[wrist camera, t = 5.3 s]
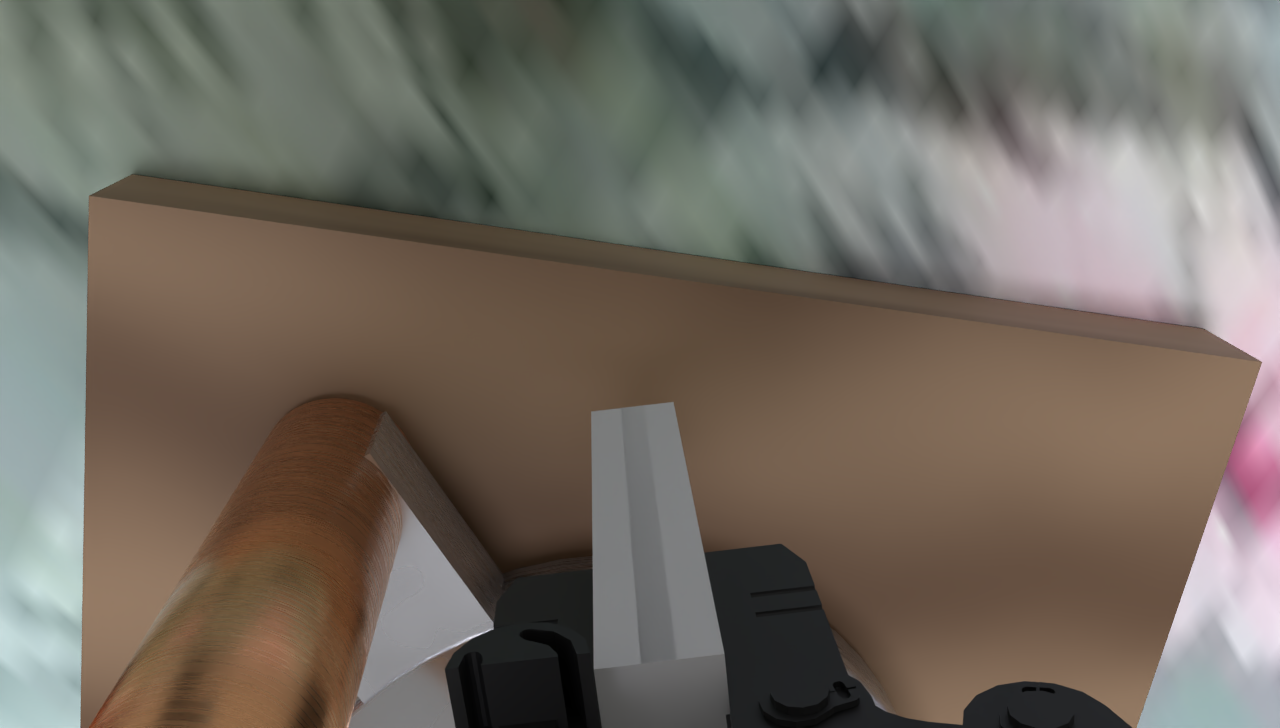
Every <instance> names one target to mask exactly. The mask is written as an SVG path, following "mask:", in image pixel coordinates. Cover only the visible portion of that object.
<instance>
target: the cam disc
mask: <svg viewBox="0 0 1280 728" xmlns="http://www.w3.org/2000/svg"><path fill="white" fill-rule="evenodd" d="M587 569H593V556H589V557H578V558H567V559H559V560H554V561H550V562H545V563H540V564H536V565H531V566H526V567H522V568H517V569H514V570H511V571H508V572H505V573H503V574H502V573H501V571H500V570H499V568H498V567H497V566H496V564H495V563H494V561H493V560H492V559H491V557H490V556H489V554H488V553H487V552H486V550H485V549H484V547H483V546H482V545H481V543H480V542H479V540H478V539H477V538H476V536H475V535H474V533H473V532H472V531H471V529H470V528H469V526H468V525H467V524H466V522H465V521H464V519H463V518H462V517H461V515H460V514H459V513H458V511H457V510H456V508H455V507H454V506H453V504H452V503H451V501H450V500H449V499H448V497H447V496H446V494H445V493H444V492H443V490H442V489H441V487H440V486H439V485H438V483H437V482H436V480H435V479H434V478H433V476H432V475H431V473H430V472H429V471H428V469H427V468H426V466H425V465H424V464H423V462H422V461H421V459H420V458H419V457H418V455H417V454H416V452H415V451H414V450H413V448H412V447H411V445H410V443H409V440H408V439H407V437H406V436H405V434H404V432H403V431H402V430H401V429H400V428H399V426H398V425H397V424H396V423H395V422H394V421H393V420H392V419H391V418H390V416H389V415H388V413H387V412H386V411H385V412H381V411H379V410H377V409H376V408H374V407H372V406H369V405H367V404H365V403H362V402H358V401H354V400H349V399H341V398H330V399H321V400H316V401H312V402H309V403H306V404H303V405H301V406H299V407H297V408H295V409H293V410H292V411H290V412H289V413H288V414H286V415H285V416H284V417H283V418H282V419H281V420H280V421H279V422H278V423H277V424H276V425H275V426H274V428H273V429H272V431H271V432H270V434H269V436H268V437H267V439H266V440H265V442H264V444H263V445H262V447H261V449H260V450H259V452H258V453H257V455H256V457H255V458H254V460H253V462H252V463H251V465H250V466H249V468H248V470H247V471H246V473H245V475H244V476H243V478H242V479H241V481H240V483H239V484H238V486H237V488H236V489H235V491H234V492H233V494H232V496H231V497H230V499H229V501H228V502H227V504H226V505H225V507H224V509H223V510H222V512H221V514H220V515H219V517H218V518H217V520H216V522H215V523H214V525H213V527H212V528H211V530H210V531H209V533H208V535H207V536H206V538H205V540H204V541H203V543H202V544H201V546H200V548H199V549H198V551H197V553H196V554H195V556H194V557H193V559H192V561H191V562H190V564H189V566H188V567H187V569H186V570H185V572H184V574H183V575H182V577H181V579H180V580H179V582H178V583H177V585H176V587H175V588H174V590H173V592H172V593H171V595H170V596H169V598H168V600H167V601H166V603H165V605H164V606H163V608H162V609H161V611H160V613H159V614H158V616H157V618H156V619H155V621H154V622H153V624H152V626H151V627H150V629H149V631H148V632H147V634H146V635H145V637H144V639H143V640H142V642H141V644H140V645H139V647H138V648H137V650H136V652H135V653H134V655H133V657H132V658H131V660H130V661H129V663H128V665H127V666H126V668H125V670H124V671H123V673H122V674H121V676H120V678H119V679H118V681H117V683H116V684H115V686H114V687H113V689H112V691H111V692H110V694H109V696H108V697H107V699H106V700H105V702H104V704H103V705H102V707H101V709H100V710H99V712H98V713H97V715H96V717H95V718H94V720H93V722H92V723H91V725H90V726H89V728H455V722H454V717H453V712H452V706H451V701H450V696H449V690H448V685H447V679H446V674H445V667H446V666H447V664H448V662H449V660H450V658H451V657H452V655H453V653H454V652H456V651H457V650H458V649H459V648H461V647H462V646H463V645H464V644H466V643H467V642H468V641H469V640H471V639H472V638H475V637H477V636H479V635H481V634H484V633H486V632H488V631H490V630H493V624H494V617H495V610H496V603H497V601H498V600H499V598H500V597H501V596H502V595H503V594H504V592H505V591H506V590H507V589H508V588H509V587H510V585H511V584H512V583H513V582H514V581H515V580H516V578H519V577H528V576H536V575H545V574H553V573H562V572H570V571H579V570H587ZM831 630H832V633H833V636H834V638H835V641H836V644H837V646H838V649H839V652H840V654H841V657H842V660H843V663H844V665H845V668H846V671H847V673H848V675H849V676H851V677H853V678H855V679H857V680H858V681H860V682H861V683H862V685H863V686H864V687H865V689H866V690H867V691H868V692H869V694H870V695H871V696H872V699H873V701H874V703H875V706H877V707H879V708H881V709H882V710H884V711H886V712H889V713H892V714H895V715H897V714H896V712H895V710H894V708H893V706H892V704H891V702H890V700H889V698H888V696H887V694H886V692H885V690H884V688H883V687H882V685H881V684H880V682H879V681H878V680H877V678H876V677H875V676H874V674H873V673H872V671H871V670H870V669H869V667H868V666H867V664H866V663H865V662H864V660H863V659H862V658H861V657H860V656H859V655H858V654H857V653H856V652H855V651H854V650H853V649H852V648H851V647H850V645H849V644H848V643H847V642H846V641H845V640H844V639H843V638H842V637H841V636H840V635H839V634H838V633H837V632H836V631H834V630H833V629H832V628H831Z"/></svg>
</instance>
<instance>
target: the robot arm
mask: <svg viewBox="0 0 1280 728" xmlns="http://www.w3.org/2000/svg"><path fill="white" fill-rule="evenodd" d="M591 446H592V546H593V569H587V570H579V571H570V572H562V573H553V574H545V575H536V576H528V577H519V578H516V580H515V581H514V582H513V583H512V584H511V585H510V587H509V588H508V589H507V590H506V591H505V592H504V594H503V595H502V596H501V597H500V598H499V600H498V601H497V603H496V610H495V617H494V624H493V630H490V631H488V632H486V633H484V634H481V635H479V636H477V637H475V638H472V639H471V640H469V641H468V642H467V643H466V644H464V645H463V646H462V647H461V648H459V649H458V650H457V651H456V652H454V653H453V655H452V657H451V658H450V660H449V662H448V664H447V666H446V667H445V674H446V679H447V685H448V690H449V696H450V701H451V706H452V712H453V717H454V722H455V728H1132V727H1131V726H1130V725H1129V724H1127V723H1126V722H1125V721H1124V720H1123V719H1121V718H1120V717H1119V716H1118V715H1117V714H1115V713H1114V712H1113V711H1112V710H1111V709H1109V708H1108V707H1107V706H1106V705H1104V704H1102V703H1101V702H1099V701H1097V700H1096V699H1094V698H1092V697H1091V696H1089V695H1087V694H1086V693H1084V692H1082V691H1079V690H1075V689H1072V688H1069V687H1065V686H1062V685H1058V684H1055V683H1045V682H1030V681H1022V682H1015V683H1009V684H1002V685H997V686H995V687H993V688H990V689H988V690H986V691H984V692H982V693H980V694H978V695H976V696H975V697H974V698H973V700H972V701H971V702H970V703H969V704H968V705H967V707H966V708H965V709H964V712H963V725H958V724H948V723H937V722H927V721H921V720H915V719H909V718H904V717H901V716H898V715H895V714H892V713H889V712H886V711H884V710H882V709H881V708H879V707H877V706H875V703H874V701H873V699H872V696H871V695H870V694H869V692H868V691H867V690H866V689H865V687H864V686H863V685H862V683H861V682H860V681H858V680H857V679H855V678H853V677H851V676H849V675H848V673H847V671H846V668H845V665H844V663H843V660H842V657H841V654H840V652H839V649H838V646H837V644H836V641H835V638H834V636H833V633H832V630H831V628H830V625H829V622H828V620H827V617H826V614H825V612H824V609H822V603H821V601H820V598H819V595H818V593H817V590H815V585H814V582H813V579H812V577H811V574H810V571H809V569H808V566H807V563H806V562H805V561H804V560H803V559H801V558H800V557H799V556H797V555H796V554H795V553H793V552H792V551H791V550H789V549H788V548H787V547H785V546H784V545H783V544H773V545H764V546H756V547H747V548H739V549H730V550H722V551H713V552H705V553H704V550H703V545H702V540H701V535H700V531H699V526H698V521H697V516H696V511H695V506H694V501H693V496H692V491H691V486H690V481H689V476H688V471H687V466H686V461H685V457H684V452H683V447H682V442H681V437H680V432H679V427H678V422H677V417H676V412H675V407H674V402H668V403H660V404H651V405H643V406H634V407H626V408H617V409H609V410H600V411H592V412H591Z"/></svg>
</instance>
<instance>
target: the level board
mask: <svg viewBox="0 0 1280 728" xmlns="http://www.w3.org/2000/svg"><path fill="white" fill-rule="evenodd" d="M1261 364H1262V362H1261V361H1259V360H1257V359H1256V358H1254V357H1252V356H1250V355H1249V354H1247V353H1245V352H1243V351H1242V350H1240V349H1238V348H1236V347H1235V346H1233V345H1231V344H1229V343H1228V342H1226V341H1224V340H1222V339H1221V338H1219V337H1217V336H1215V335H1214V334H1212V333H1210V332H1208V331H1207V330H1205V329H1201V328H1194V327H1187V326H1180V325H1173V324H1166V323H1159V322H1152V321H1146V320H1139V319H1132V318H1125V317H1118V316H1111V315H1104V314H1097V313H1090V312H1083V311H1076V310H1069V309H1062V308H1055V307H1049V306H1042V305H1035V304H1028V303H1021V302H1014V301H1007V300H1000V299H993V298H986V297H979V296H972V295H965V294H958V293H952V292H945V291H938V290H931V289H924V288H917V287H910V286H903V285H896V284H889V283H882V282H875V281H868V280H861V279H855V278H848V277H841V276H834V275H827V274H820V273H813V272H806V271H799V270H792V269H785V268H778V267H771V266H764V265H758V264H751V263H744V262H737V261H730V260H723V259H716V258H709V257H702V256H695V255H688V254H681V253H674V252H667V251H661V250H654V249H647V248H640V247H633V246H626V245H619V244H612V243H605V242H598V241H591V240H584V239H577V238H570V237H564V236H557V235H550V234H543V233H536V232H529V231H522V230H515V229H508V228H501V227H494V226H487V225H480V224H473V223H467V222H460V221H453V220H446V219H439V218H432V217H425V216H418V215H411V214H404V213H397V212H390V211H383V210H377V209H370V208H363V207H356V206H349V205H342V204H335V203H328V202H321V201H314V200H307V199H300V198H293V197H286V196H280V195H273V194H266V193H259V192H252V191H245V190H238V189H231V188H224V187H217V186H210V185H203V184H196V183H189V182H183V181H176V180H169V179H162V178H155V177H148V176H141V175H134V174H132V175H130V176H128V177H126V178H124V179H122V180H120V181H118V182H116V183H114V184H112V185H110V186H108V187H106V188H104V189H102V190H100V191H98V192H96V193H94V194H92V195H90V196H89V232H88V294H87V356H86V418H85V480H84V542H83V604H82V666H81V728H89V726H90V725H91V723H92V722H93V720H94V718H95V717H96V715H97V713H98V712H99V710H100V709H101V707H102V705H103V704H104V702H105V700H106V699H107V697H108V696H109V694H110V692H111V691H112V689H113V687H114V686H115V684H116V683H117V681H118V679H119V678H120V676H121V674H122V673H123V671H124V670H125V668H126V666H127V665H128V663H129V661H130V660H131V658H132V657H133V655H134V653H135V652H136V650H137V648H138V647H139V645H140V644H141V642H142V640H143V639H144V637H145V635H146V634H147V632H148V631H149V629H150V627H151V626H152V624H153V622H154V621H155V619H156V618H157V616H158V614H159V613H160V611H161V609H162V608H163V606H164V605H165V603H166V601H167V600H168V598H169V596H170V595H171V593H172V592H173V590H174V588H175V587H176V585H177V583H178V582H179V580H180V579H181V577H182V575H183V574H184V572H185V570H186V569H187V567H188V566H189V564H190V562H191V561H192V559H193V557H194V556H195V554H196V553H197V551H198V549H199V548H200V546H201V544H202V543H203V541H204V540H205V538H206V536H207V535H208V533H209V531H210V530H211V528H212V527H213V525H214V523H215V522H216V520H217V518H218V517H219V515H220V514H221V512H222V510H223V509H224V507H225V505H226V504H227V502H228V501H229V499H230V497H231V496H232V494H233V492H234V491H235V489H236V488H237V486H238V484H239V483H240V481H241V479H242V478H243V476H244V475H245V473H246V471H247V470H248V468H249V466H250V465H251V463H252V462H253V460H254V458H255V457H256V455H257V453H258V452H259V450H260V449H261V447H262V445H263V444H264V442H265V440H266V439H267V437H268V436H269V434H270V432H271V431H272V429H273V428H274V426H275V425H276V424H277V423H278V422H279V421H280V420H281V419H282V418H283V417H284V416H285V415H286V414H288V413H289V412H290V411H292V410H293V409H295V408H297V407H299V406H301V405H303V404H306V403H309V402H312V401H316V400H321V399H330V398H341V399H349V400H354V401H358V402H362V403H365V404H367V405H369V406H372V407H374V408H376V409H377V410H379V411H381V412H385V411H386V412H387V413H388V415H389V416H390V418H391V419H392V420H393V421H394V422H395V423H396V424H397V425H398V426H399V428H400V429H401V430H402V431H403V432H404V434H405V436H406V437H407V439H408V440H409V443H410V445H411V447H412V448H413V450H414V451H415V452H416V454H417V455H418V457H419V458H420V459H421V461H422V462H423V464H424V465H425V466H426V468H427V469H428V471H429V472H430V473H431V475H432V476H433V478H434V479H435V480H436V482H437V483H438V485H439V486H440V487H441V489H442V490H443V492H444V493H445V494H446V496H447V497H448V499H449V500H450V501H451V503H452V504H453V506H454V507H455V508H456V510H457V511H458V513H459V514H460V515H461V517H462V518H463V519H464V521H465V522H466V524H467V525H468V526H469V528H470V529H471V531H472V532H473V533H474V535H475V536H476V538H477V539H478V540H479V542H480V543H481V545H482V546H483V547H484V549H485V550H486V552H487V553H488V554H489V556H490V557H491V559H492V560H493V561H494V563H495V564H496V566H497V567H498V568H499V570H500V571H501V573H502V574H503V573H505V572H508V571H511V570H514V569H517V568H522V567H526V566H531V565H536V564H540V563H545V562H550V561H554V560H559V559H567V558H578V557H589V556H593V546H592V446H591V412H592V411H600V410H609V409H617V408H626V407H634V406H643V405H651V404H660V403H668V402H674V407H675V412H676V417H677V422H678V427H679V432H680V437H681V442H682V447H683V452H684V457H685V461H686V466H687V471H688V476H689V481H690V486H691V491H692V496H693V501H694V506H695V511H696V516H697V521H698V526H699V531H700V535H701V540H702V545H703V550H704V553H705V552H713V551H722V550H730V549H739V548H747V547H756V546H764V545H773V544H783V545H784V546H785V547H787V548H788V549H789V550H791V551H792V552H793V553H795V554H796V555H797V556H799V557H800V558H801V559H803V560H804V561H805V562H806V563H807V566H808V569H809V571H810V574H811V577H812V579H813V582H814V585H815V590H817V593H818V595H819V598H820V601H821V603H822V609H824V612H825V614H826V617H827V620H828V622H829V625H830V628H832V629H833V630H834V631H836V632H837V633H838V634H839V635H840V636H841V637H842V638H843V639H844V640H845V641H846V642H847V643H848V644H849V645H850V647H851V648H852V649H853V650H854V651H855V652H856V653H857V654H858V655H859V656H860V657H861V658H862V659H863V660H864V662H865V663H866V664H867V666H868V667H869V669H870V670H871V671H872V673H873V674H874V676H875V677H876V678H877V680H878V681H879V682H880V684H881V685H882V687H883V688H884V690H885V692H886V694H887V696H888V698H889V700H890V702H891V704H892V706H893V708H894V710H895V712H896V714H897V715H898V716H901V717H904V718H909V719H915V720H921V721H927V722H937V723H948V724H958V725H963V712H964V709H965V708H966V707H967V705H968V704H969V703H970V702H971V701H972V700H973V698H974V697H975V696H976V695H978V694H980V693H982V692H984V691H986V690H988V689H990V688H993V687H995V686H997V685H1002V684H1009V683H1015V682H1022V681H1030V682H1045V683H1055V684H1058V685H1062V686H1065V687H1069V688H1072V689H1075V690H1079V691H1082V692H1084V693H1086V694H1087V695H1089V696H1091V697H1092V698H1094V699H1096V700H1097V701H1099V702H1101V703H1102V704H1104V705H1106V706H1107V707H1108V708H1109V709H1111V710H1112V711H1113V712H1114V713H1115V714H1117V715H1118V716H1119V717H1120V718H1121V719H1123V720H1124V721H1125V722H1126V723H1127V724H1129V725H1130V726H1131V727H1132V728H1136V727H1137V724H1138V722H1139V719H1140V716H1141V713H1142V710H1143V707H1144V704H1145V701H1146V698H1147V695H1148V692H1149V690H1150V687H1151V684H1152V681H1153V678H1154V675H1155V672H1156V669H1157V666H1158V663H1159V660H1160V658H1161V655H1162V652H1163V649H1164V646H1165V643H1166V640H1167V637H1168V634H1169V631H1170V628H1171V626H1172V623H1173V620H1174V617H1175V614H1176V611H1177V608H1178V605H1179V602H1180V599H1181V596H1182V593H1183V591H1184V588H1185V585H1186V582H1187V579H1188V576H1189V573H1190V570H1191V567H1192V564H1193V561H1194V559H1195V556H1196V553H1197V550H1198V547H1199V544H1200V541H1201V538H1202V535H1203V532H1204V529H1205V527H1206V524H1207V521H1208V518H1209V515H1210V512H1211V509H1212V506H1213V503H1214V500H1215V497H1216V495H1217V492H1218V489H1219V486H1220V483H1221V480H1222V477H1223V474H1224V471H1225V468H1226V465H1227V463H1228V460H1229V457H1230V454H1231V451H1232V448H1233V445H1234V442H1235V439H1236V436H1237V433H1238V431H1239V428H1240V425H1241V422H1242V419H1243V416H1244V413H1245V410H1246V407H1247V404H1248V401H1249V398H1250V396H1251V393H1252V390H1253V387H1254V384H1255V381H1256V378H1257V375H1258V372H1259V369H1260V366H1261Z"/></svg>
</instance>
